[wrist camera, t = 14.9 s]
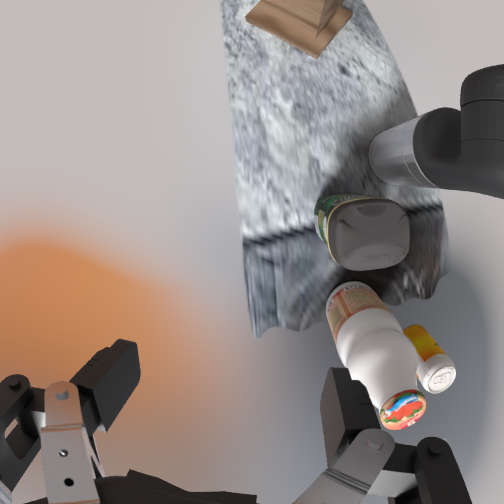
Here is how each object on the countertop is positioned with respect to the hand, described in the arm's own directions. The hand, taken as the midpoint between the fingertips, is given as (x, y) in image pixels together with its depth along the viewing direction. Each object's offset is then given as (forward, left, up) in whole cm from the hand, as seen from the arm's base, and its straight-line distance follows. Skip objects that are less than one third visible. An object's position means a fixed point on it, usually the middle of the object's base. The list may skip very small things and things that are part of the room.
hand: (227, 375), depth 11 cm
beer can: (-30, +18, -38) cm, 52 cm away
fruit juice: (-16, +12, -38) cm, 43 cm away
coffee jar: (-12, -3, -38) cm, 40 cm away
